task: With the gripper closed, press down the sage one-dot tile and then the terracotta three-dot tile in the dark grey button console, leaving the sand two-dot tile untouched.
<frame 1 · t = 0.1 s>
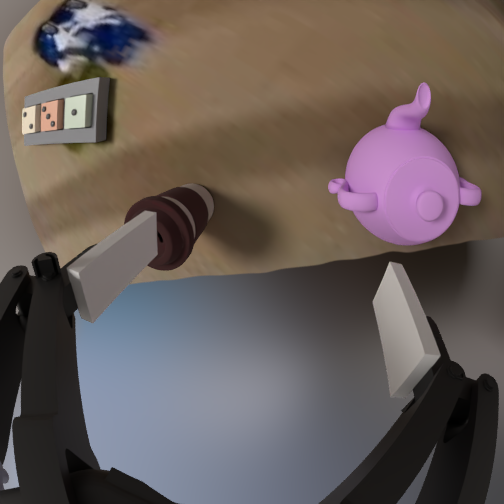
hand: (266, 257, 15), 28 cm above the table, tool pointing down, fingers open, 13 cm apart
tile two: (32, 119, 39), point 3 cm above the table, slide at 0.0 cm
teapot: (395, 163, 35), on the table
tile three: (53, 115, 38), point 3 cm above the table, slide at 0.0 cm
tile one: (79, 111, 37), point 3 cm above the table, slide at 0.0 cm
coffee cup: (194, 203, 45), on the table
console: (64, 113, 41), on the table
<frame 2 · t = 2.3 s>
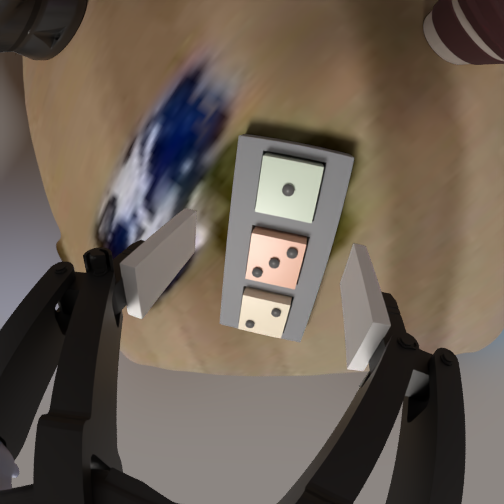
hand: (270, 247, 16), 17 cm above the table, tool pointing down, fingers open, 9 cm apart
tile two: (264, 311, 36), point 3 cm above the table, slide at 0.0 cm
tile three: (275, 256, 32), point 3 cm above the table, slide at 0.0 cm
tile one: (289, 186, 28), point 3 cm above the table, slide at 0.0 cm
coffee cup: (446, 38, 18), on the table
console: (278, 245, 35), on the table
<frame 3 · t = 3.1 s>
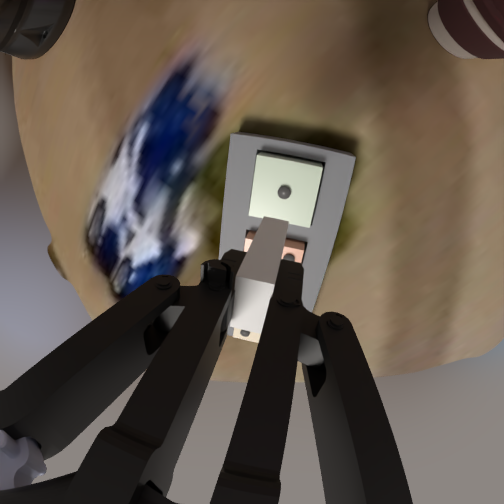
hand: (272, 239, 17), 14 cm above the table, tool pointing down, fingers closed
tile two: (260, 319, 34), point 3 cm above the table, slide at 0.0 cm
tile three: (271, 263, 30), point 3 cm above the table, slide at 0.0 cm
tile one: (285, 188, 26), point 3 cm above the table, slide at 0.0 cm
coffee cup: (452, 31, 16), on the table
console: (275, 249, 33), on the table
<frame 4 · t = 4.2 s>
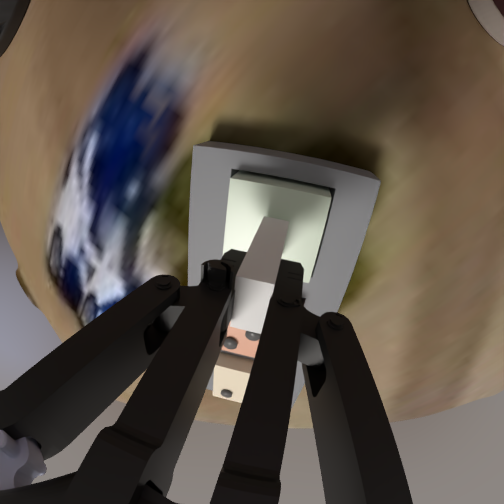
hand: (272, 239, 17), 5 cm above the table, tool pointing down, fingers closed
tile two: (245, 378, 26), point 3 cm above the table, slide at 0.0 cm
tile three: (256, 321, 22), point 3 cm above the table, slide at 0.0 cm
tile one: (275, 225, 18), point 3 cm above the table, slide at 0.3 cm, touching gripper
coffee cup: (495, 15, 8), on the table
console: (263, 298, 25), on the table
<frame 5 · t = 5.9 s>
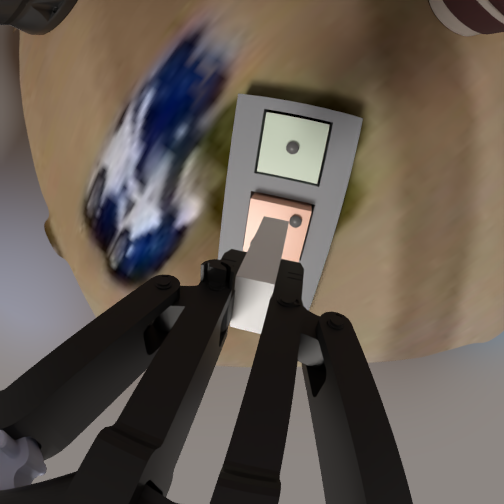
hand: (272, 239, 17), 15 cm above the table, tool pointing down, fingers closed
tile three: (277, 227, 29), point 3 cm above the table, slide at 0.0 cm
tile one: (293, 146, 26), point 2 cm above the table, slide at 1.3 cm
coffee cup: (452, 11, 14), on the table
console: (280, 216, 32), on the table
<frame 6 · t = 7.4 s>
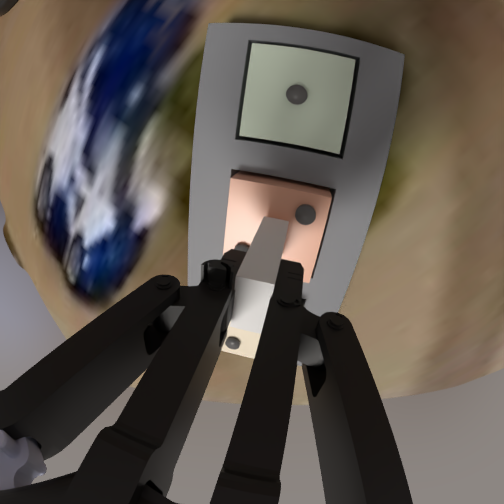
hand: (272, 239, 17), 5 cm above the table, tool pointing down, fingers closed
tile two: (256, 322, 22), point 3 cm above the table, slide at 0.0 cm
tile three: (275, 225, 18), point 3 cm above the table, slide at 0.4 cm, touching gripper
tile one: (297, 96, 15), point 2 cm above the table, slide at 1.3 cm
console: (279, 211, 21), on the table
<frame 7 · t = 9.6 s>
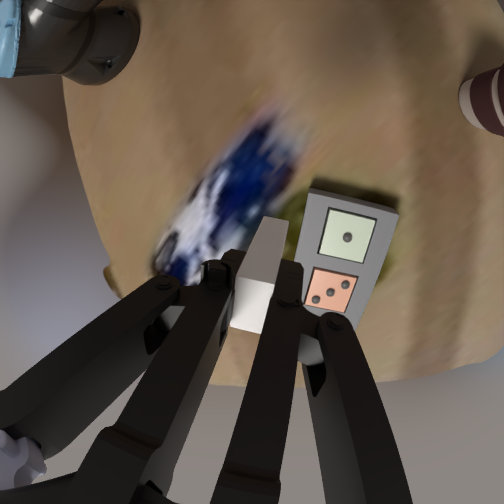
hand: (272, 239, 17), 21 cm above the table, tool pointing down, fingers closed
tile three: (330, 286, 39), point 2 cm above the table, slide at 1.3 cm
tile one: (346, 233, 35), point 2 cm above the table, slide at 1.3 cm
coffee cup: (476, 104, 24), on the table
console: (329, 280, 40), on the table
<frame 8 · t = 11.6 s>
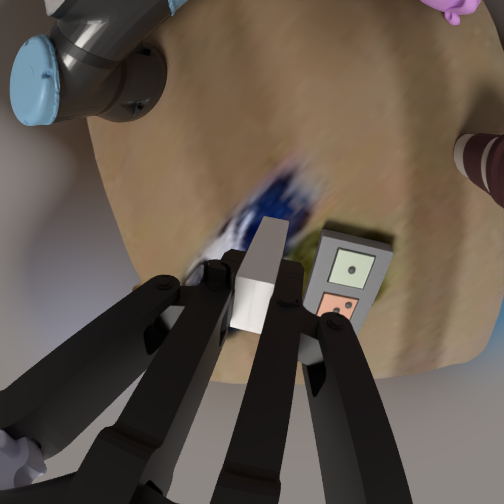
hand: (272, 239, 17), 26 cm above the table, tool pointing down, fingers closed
tile three: (335, 305, 47), point 2 cm above the table, slide at 1.3 cm
tile one: (350, 265, 43), point 2 cm above the table, slide at 1.3 cm
coffee cup: (468, 154, 32), on the table
console: (335, 299, 49), on the table
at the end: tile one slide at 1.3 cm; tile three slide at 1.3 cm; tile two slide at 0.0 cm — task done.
